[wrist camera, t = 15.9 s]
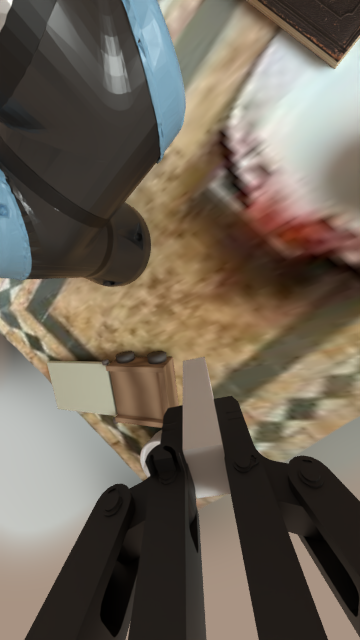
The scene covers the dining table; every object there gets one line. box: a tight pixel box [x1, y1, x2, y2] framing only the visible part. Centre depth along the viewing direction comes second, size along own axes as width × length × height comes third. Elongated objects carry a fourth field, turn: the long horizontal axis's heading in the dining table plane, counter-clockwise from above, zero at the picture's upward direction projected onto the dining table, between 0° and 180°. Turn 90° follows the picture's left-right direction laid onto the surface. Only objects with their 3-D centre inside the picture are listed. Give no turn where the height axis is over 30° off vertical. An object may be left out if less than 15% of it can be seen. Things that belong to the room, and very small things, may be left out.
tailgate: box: [47, 361, 118, 416], centre depth 45 cm, size 1×12×16 cm
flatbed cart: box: [102, 351, 179, 428], centre depth 41 cm, size 13×14×5 cm
